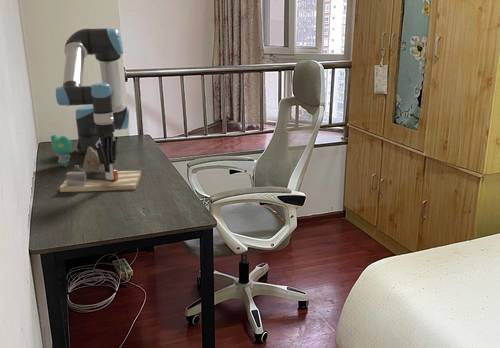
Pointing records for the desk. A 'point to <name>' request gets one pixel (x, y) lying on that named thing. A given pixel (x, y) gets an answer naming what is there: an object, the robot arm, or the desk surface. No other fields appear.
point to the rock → (92, 160)
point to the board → (99, 182)
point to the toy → (61, 148)
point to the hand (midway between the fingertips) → (109, 178)
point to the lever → (99, 174)
